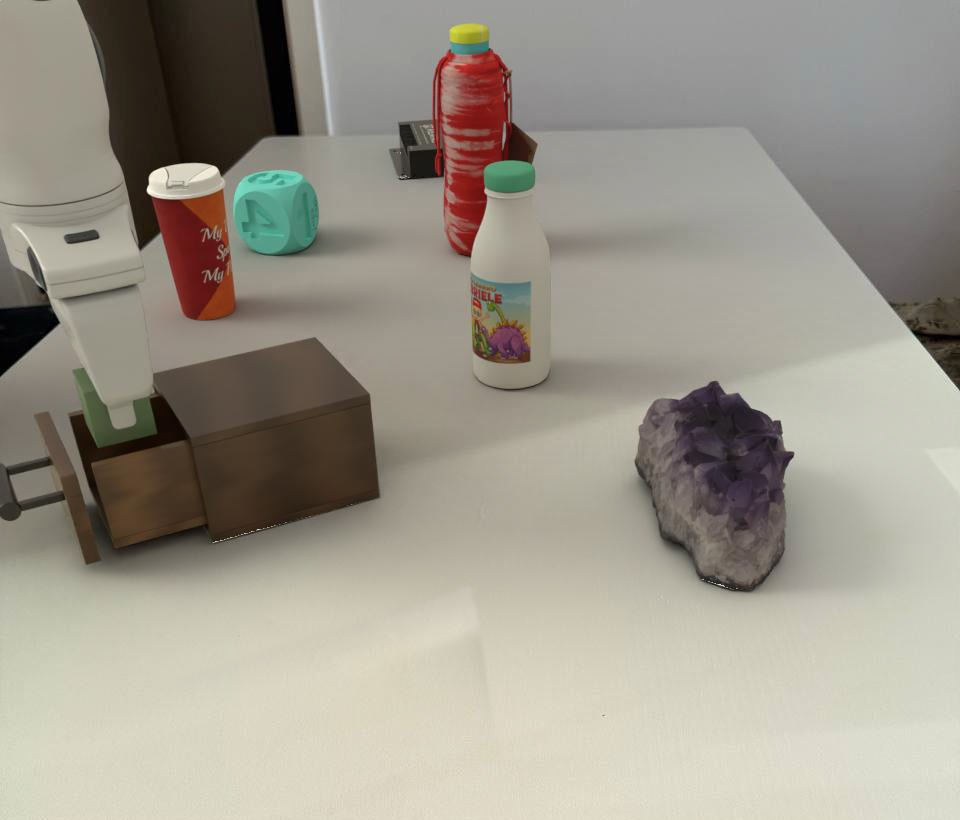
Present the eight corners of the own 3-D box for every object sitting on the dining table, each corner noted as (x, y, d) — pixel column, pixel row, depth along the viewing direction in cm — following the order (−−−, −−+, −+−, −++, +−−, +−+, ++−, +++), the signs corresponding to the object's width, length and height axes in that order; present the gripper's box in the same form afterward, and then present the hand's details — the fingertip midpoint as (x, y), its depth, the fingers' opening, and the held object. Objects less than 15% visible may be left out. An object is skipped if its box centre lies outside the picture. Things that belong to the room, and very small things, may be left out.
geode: (837, 586, 84) (844, 474, 78) (683, 614, 85) (677, 505, 78) (759, 444, 100) (759, 340, 93) (629, 468, 100) (621, 367, 93)
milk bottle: (511, 350, 118) (508, 148, 105) (566, 372, 114) (570, 164, 101) (457, 375, 114) (448, 167, 101) (512, 398, 109) (510, 185, 97)
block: (98, 448, 87) (83, 393, 84) (86, 423, 90) (71, 369, 87) (157, 434, 88) (145, 379, 85) (143, 410, 91) (131, 356, 88)
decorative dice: (295, 257, 141) (286, 191, 136) (238, 252, 143) (227, 187, 138) (322, 236, 147) (315, 172, 142) (267, 231, 149) (258, 167, 144)
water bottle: (531, 234, 145) (531, 14, 129) (539, 256, 139) (540, 28, 123) (437, 239, 144) (426, 19, 129) (441, 262, 138) (429, 33, 123)
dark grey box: (388, 149, 177) (379, 26, 166) (477, 142, 178) (473, 20, 167) (401, 188, 161) (391, 55, 150) (498, 180, 163) (495, 48, 152)
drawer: (22, 583, 86) (-9, 494, 81) (0, 512, 94) (-30, 428, 89) (253, 519, 92) (237, 433, 87) (213, 458, 100) (197, 376, 95)
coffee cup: (238, 323, 126) (214, 183, 116) (165, 325, 126) (135, 186, 116) (251, 294, 132) (230, 159, 123) (181, 295, 132) (154, 161, 123)
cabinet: (212, 544, 91) (190, 438, 85) (172, 474, 100) (149, 373, 94) (380, 497, 96) (370, 393, 90) (327, 434, 105) (315, 336, 99)
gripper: (0, 195, 85) (49, 366, 94) (49, 284, 71) (101, 476, 80) (84, 181, 87) (125, 350, 96) (148, 265, 73) (189, 454, 82)
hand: (115, 408), depth 88 cm, fingers closed on block, 4 cm apart
